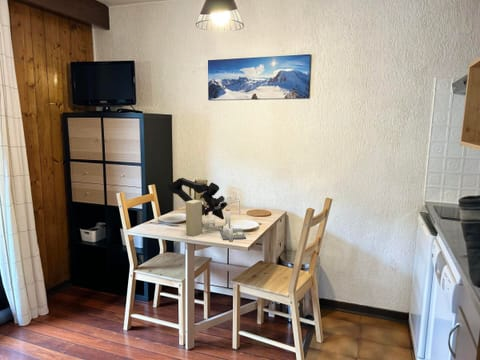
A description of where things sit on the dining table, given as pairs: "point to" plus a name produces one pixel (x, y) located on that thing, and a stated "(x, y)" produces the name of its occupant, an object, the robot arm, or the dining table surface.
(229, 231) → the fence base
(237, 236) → the board
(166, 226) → the dining table surface
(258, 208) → the dining table surface
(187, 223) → the toy refrigerator
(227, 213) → the fence post
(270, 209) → the dining table surface
